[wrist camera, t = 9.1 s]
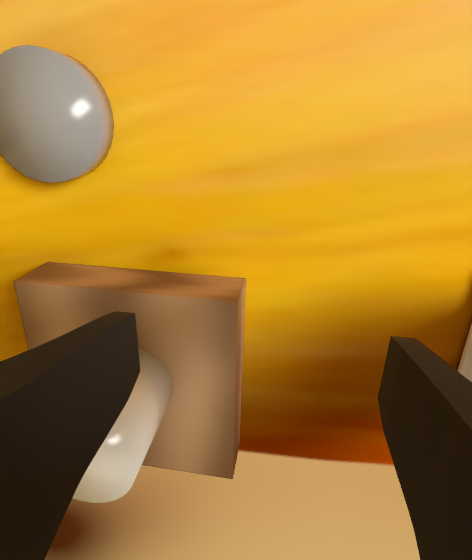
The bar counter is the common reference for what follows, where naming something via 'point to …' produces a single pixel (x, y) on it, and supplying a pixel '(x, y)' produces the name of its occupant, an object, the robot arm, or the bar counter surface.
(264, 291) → the bar counter surface
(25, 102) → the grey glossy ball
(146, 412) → the cream glossy cylinder
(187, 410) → the walnut block
